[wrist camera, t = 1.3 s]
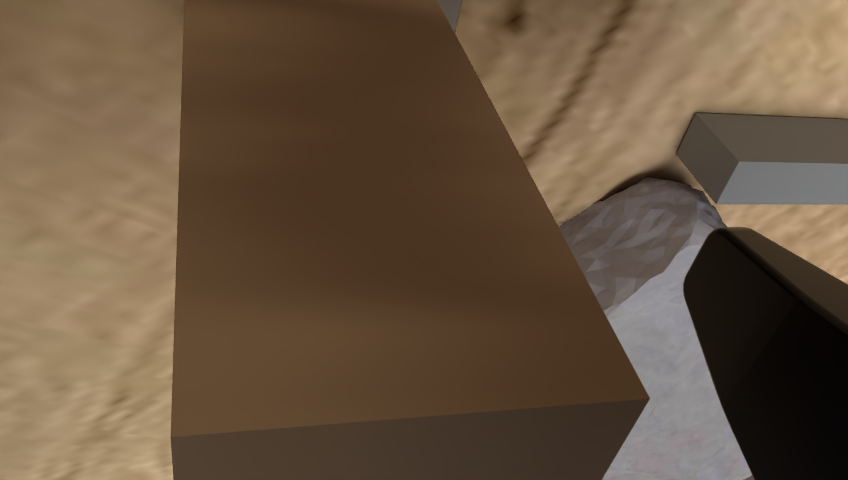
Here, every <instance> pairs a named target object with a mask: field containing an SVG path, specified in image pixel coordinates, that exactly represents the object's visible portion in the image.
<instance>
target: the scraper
mask: <svg viewBox="0 0 848 480" xmlns="http://www.w3.org/2000/svg"><path fill="white" fill-rule="evenodd" d="M461 4H462V0H185V2H184V34H183V65H182V97H181V129H180V161H179V192H178V224H177V256H176V288H175V319H174V351H173V383H172V414H171V448H172V463H173V478H174V480H602V479H603V477H604V475H605V474H606V472H607V470H608V469H609V467H610V465H611V464H612V462H613V460H614V459H615V457H616V455H617V453H618V452H619V450H620V448H621V447H622V445H623V443H624V442H625V440H626V438H627V437H628V435H629V433H630V432H631V430H632V428H633V427H634V425H635V423H636V422H637V420H638V418H639V417H640V415H641V413H642V411H643V410H644V408H645V406H646V405H647V403H648V401H649V400H650V397H649V395H648V394H647V392H646V390H645V388H644V386H643V384H642V382H641V381H640V379H639V377H638V375H637V373H636V371H635V369H634V367H633V366H632V364H631V362H630V360H629V358H628V356H627V354H626V353H625V351H624V349H623V347H622V345H621V343H620V341H619V339H618V338H617V336H616V334H615V332H614V330H613V328H612V326H611V325H610V323H609V321H608V319H607V317H606V315H605V313H604V311H603V310H602V308H601V306H600V304H599V302H598V300H597V298H596V297H595V295H594V293H593V291H592V289H591V287H590V285H589V283H588V282H587V280H586V278H585V276H584V274H583V272H582V270H581V269H580V267H579V265H578V263H577V261H576V259H575V257H574V255H573V254H572V252H571V250H570V248H569V246H568V244H567V242H566V241H565V239H564V237H563V235H562V233H561V231H560V229H559V227H558V226H557V224H556V222H555V220H554V218H553V216H552V214H551V213H550V211H549V209H548V207H547V205H546V203H545V201H544V199H543V198H542V196H541V194H540V192H539V190H538V188H537V186H536V184H535V183H534V181H533V179H532V177H531V175H530V173H529V171H528V170H527V168H526V166H525V164H524V162H523V160H522V158H521V156H520V155H519V153H518V151H517V149H516V147H515V145H514V143H513V142H512V140H511V138H510V136H509V134H508V132H507V130H506V128H505V127H504V125H503V123H502V121H501V119H500V117H499V115H498V114H497V112H496V110H495V108H494V106H493V104H492V102H491V100H490V99H489V97H488V95H487V93H486V91H485V89H484V87H483V86H482V84H481V82H480V80H479V78H478V76H477V74H476V72H475V71H474V69H473V67H472V65H471V63H470V61H469V59H468V58H467V56H466V54H465V52H464V50H463V48H462V46H461V44H460V43H459V41H458V39H457V37H456V35H455V31H456V27H457V22H458V17H459V13H460V8H461Z"/></svg>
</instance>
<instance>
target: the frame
mask: <svg viewBox="0 0 848 480" xmlns="http://www.w3.org/2000/svg"><path fill="white" fill-rule="evenodd" d="M676 155H677V156H678V157H679V158H680V160H681V161H682V162H683V163H684V165H685V166H686V167H687V168H688V170H689V171H690V172H691V173H692V175H693V176H694V177H695V178H696V180H697V181H698V182H699V183H700V185H701V186H702V187H703V188H704V190H705V191H706V192H707V193H708V195H709V196H710V197H711V198H712V200H713V201H714V202H715V203H716V204H848V119H828V118H804V117H781V116H757V115H733V114H709V113H695V116H694V118H693V120H692V122H691V124H690V126H689V128H688V130H687V132H686V135H685V137H684V139H683V141H682V143H681V145H680V147H679V149H678V152H677V154H676ZM743 480H754V478H753V476H752V475H751V476H750V477H748V478H745V479H743Z"/></svg>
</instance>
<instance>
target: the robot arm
mask: <svg viewBox="0 0 848 480" xmlns="http://www.w3.org/2000/svg"><path fill="white" fill-rule="evenodd" d="M683 294H684V299H685V302H686V305H687V308H688V311H689V313H690V316H691V319H692V322H693V325H694V328H695V331H696V334H697V337H698V340H699V343H700V346H701V349H702V352H703V355H704V358H705V361H706V364H707V366H708V369H709V372H710V375H711V378H712V381H713V384H714V387H715V390H716V393H717V395H718V398H719V401H720V404H721V406H722V409H723V411H724V414H725V416H726V418H727V421H728V423H729V425H730V427H731V430H732V432H733V434H734V436H735V438H736V441H737V443H738V445H739V447H740V449H741V452H742V454H743V456H744V458H745V460H746V463H747V465H748V467H749V469H750V471H751V474H752V476H753V478H754V480H848V284H846V283H844V282H842V281H841V280H839V279H837V278H835V277H834V276H832V275H830V274H829V273H827V272H825V271H823V270H822V269H820V268H818V267H816V266H815V265H813V264H811V263H809V262H808V261H806V260H804V259H803V258H801V257H799V256H797V255H796V254H794V253H792V252H790V251H789V250H787V249H785V248H783V247H782V246H780V245H778V244H777V243H775V242H773V241H771V240H770V239H768V238H766V237H764V236H763V235H761V234H759V233H757V232H756V231H754V230H752V229H749V228H745V227H721V228H717V229H714V230H713V231H712V232H711V233H709V235H708V236H707V237H706V239H705V241H704V243H703V245H702V246H701V248H700V250H699V252H698V254H697V256H696V257H695V259H694V261H693V263H692V265H691V266H690V268H689V270H688V272H687V274H686V276H685V279H684V283H683Z"/></svg>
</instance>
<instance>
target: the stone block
mask: <svg viewBox="0 0 848 480" xmlns="http://www.w3.org/2000/svg"><path fill="white" fill-rule="evenodd" d="M721 227H727V226H726V225H725V224H724V223H723V222H722V219H721V217H720V215H719V213H718V211H717V209H716V208H715V207H714V206H713V205H711V204H710V202H709V200H708V199H707V197H706V196H705V194H704V192H703V191H700V190H696V189H693V188H692V187H691V185H686V184H682V183H679V182H675V181H671V180H663V179H659V178H649V177H647V178H645V179H643V180H641V181H640V182H638V183H637V184H636V185H633V186H631V187H629V188H627V189H626V190H624V191H622V192H619V193H617V194H614V195H612V196H610V197H609V198H607V199H606V200H604V201H597V202H595V203H593V204H592V205H591V206H590V207H588V208H587V209H586V210H585V211H583V212H582V213H581V214H579V215H577V216H576V217H574V218H572V219H570V220H569V221H567V222H566V223H564V224H563V225H561V226H560V227H559V229H560V231H561V233H562V235H563V237H564V239H565V241H566V242H567V244H568V246H569V248H570V250H571V252H572V254H573V255H574V257H575V259H576V261H577V263H578V265H579V267H580V269H581V270H582V272H583V274H584V276H585V278H586V280H587V282H588V283H589V285H590V287H591V289H592V291H593V293H594V295H595V297H596V298H597V300H598V302H599V304H600V306H601V308H602V310H603V311H604V313H605V315H606V317H607V319H608V321H609V323H610V325H611V326H612V328H613V330H614V332H615V334H616V336H617V338H618V339H619V341H620V343H621V345H622V347H623V349H624V351H625V353H626V354H627V356H628V358H629V360H630V362H631V364H632V366H633V367H634V369H635V371H636V373H637V375H638V377H639V379H640V381H641V382H642V384H643V386H644V388H645V390H646V392H647V394H648V395H649V397H650V400H649V401H648V403H647V405H646V406H645V408H644V410H643V411H642V413H641V415H640V417H639V418H638V420H637V422H636V423H635V425H634V427H633V428H632V430H631V432H630V433H629V435H628V437H627V438H626V440H625V442H624V443H623V445H622V447H621V448H620V450H619V452H618V453H617V455H616V457H615V459H614V460H613V462H612V464H611V465H610V467H609V469H608V470H607V472H606V474H605V475H604V477H603V479H602V480H743V479H745V478H748V477H750V476H751V475H752V474H751V471H750V469H749V467H748V465H747V463H746V460H745V458H744V456H743V454H742V452H741V449H740V447H739V445H738V443H737V441H736V438H735V436H734V434H733V432H732V430H731V427H730V425H729V423H728V421H727V418H726V416H725V414H724V411H723V409H722V406H721V404H720V401H719V398H718V395H717V393H716V390H715V387H714V384H713V381H712V378H711V375H710V372H709V369H708V366H707V364H706V361H705V358H704V355H703V352H702V349H701V346H700V343H699V340H698V337H697V334H696V331H695V328H694V325H693V322H692V319H691V316H690V313H689V311H688V308H687V305H686V302H685V299H684V294H683V283H684V279H685V276H686V274H687V272H688V270H689V268H690V266H691V265H692V263H693V261H694V259H695V257H696V256H697V254H698V252H699V250H700V248H701V246H702V245H703V243H704V241H705V239H706V237H707V236H708V235H709V233H711V232H712V231H713V230H714V229H717V228H721Z"/></svg>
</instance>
